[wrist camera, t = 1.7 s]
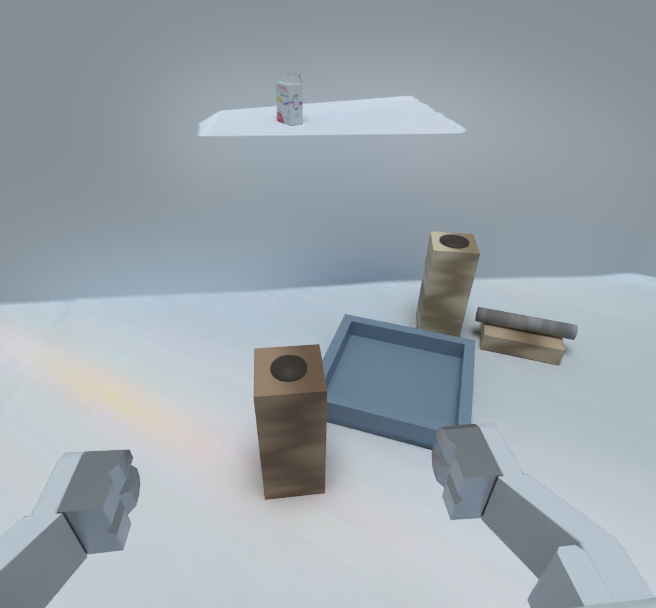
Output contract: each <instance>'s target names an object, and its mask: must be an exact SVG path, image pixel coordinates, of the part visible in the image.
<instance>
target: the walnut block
mask: <svg viewBox="0 0 656 608" xmlns="http://www.w3.org/2000/svg"><path fill="white" fill-rule="evenodd" d="M254 405H255V414H256V423H257V431H258V440H259V449H260V458H261V467H262V476H263V485H264V494H265V499H275V498H284V497H293V496H302V495H311V494H321V493H325V458H326V422H327V386H326V380H325V375H324V369H323V363H322V357H321V352H320V346H319V344H317V345H302V346H287V347H273V348H258V349H255V351H254Z"/></svg>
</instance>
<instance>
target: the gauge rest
mask: <svg viewBox="0 0 656 608" xmlns="http://www.w3.org/2000/svg"><path fill="white" fill-rule="evenodd" d="M475 321H478V322H481V338H480V349H483V350H487V351H492V352H497V353H502V354H507V355H512V356H517V357H522V358H526V359H531V360H536V361H541V362H546V363H551V364H556V365H559V363H560V361H561V359H562V356H563V354H564V352H565V348H564V344H563V339H562V338H567V339H572V340H574V339H575V337H576V335H577V325H574V324H568V323H563V322H557V321H552V320H546V319H541V318H535V317H530V316H524V315H519V314H514V313H508V312H503V311H497V310H492V309H486V308H481V307H478V309H477V313H476V318H475Z"/></svg>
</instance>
